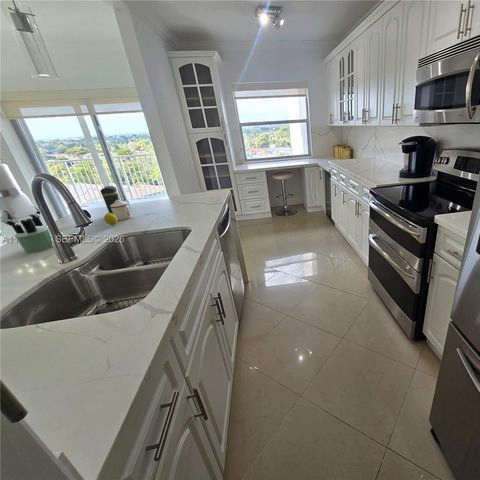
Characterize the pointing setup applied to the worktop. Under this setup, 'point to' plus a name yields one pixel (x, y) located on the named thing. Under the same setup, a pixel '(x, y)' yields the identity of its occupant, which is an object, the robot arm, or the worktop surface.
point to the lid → (30, 229)
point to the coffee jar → (110, 196)
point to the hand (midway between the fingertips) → (30, 229)
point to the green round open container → (36, 242)
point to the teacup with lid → (121, 210)
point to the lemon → (110, 219)
